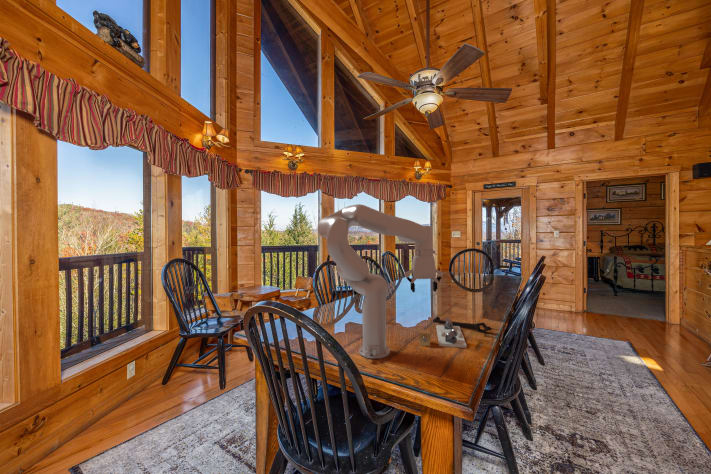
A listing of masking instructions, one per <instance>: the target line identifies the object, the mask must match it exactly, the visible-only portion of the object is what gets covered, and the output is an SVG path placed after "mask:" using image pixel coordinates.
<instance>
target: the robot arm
mask: <svg viewBox="0 0 711 474" xmlns="http://www.w3.org/2000/svg"><path fill="white" fill-rule="evenodd" d="M351 227H360V228H362V229H365V230H368V231H371V232H373V233H377V234H380V235H384V236H393V237H397V239H398V240H399V242H401V243H408V244H409V243H410V244H412V243H413V244H414V255H413V256H412V262H411V269H410V270H408V271H406V272H404V274H403V275H404V277H405V278H406V280H407V281H409V283H410V291H411V292H412V293H415V292H416V288H415V287H416V284H415V282H416V280H432V291H433V292H437V291H438V283H439V282H440V281H441V279H442V278H443V276H444V272H443V271H440V270H438V269H437V268H436V261H435V257H434V256H435V254H436V250H433V228H432V226H431V225H422V224H420V223H418V222H415V221H412V220H409V219H406V218H402V217H398V216H395V215H392V214H387V213H384V212H383V211H379V210H377V209H374V208H372V207H370V206H367V205H364V204H351V205H348V206H345V207H343V208H341V209H339V210H337V211H335V212H334V213H331V214H329V215H327V216H325V217H323V218H322V219H320V220H319V222H318V224H317V229H316V230H317V233H318V235H320V237H322V239H323V238H324V239H326V249H327V254H328V255H329V257H330V258H331V260H332V261H333V262H334V263H335V264H336V266H335V267H336V269H335V270H336V273H337V274H338V276H339V277H340V278H341V279H342V280H343V281H344V282H345V283H346V284H347V285H348V286H349V287H350V288H351V289H352V290H353V291H355V292H356V293H357V294H360V295H362V296H364V299H363V303H362V308H361V313H362V315H361V316H362V317H361V318H362V322H361V323H362V346H360V347H359V349H358V352H359V353H358V354H359V355H360V356H361V357H363V358H367V359H372V360H376V359H377V360H378V359H384V358H386V357H389V355H391V349H390V348H389V346H387V298H388V292H389V285H388V282H387V280H386V279H385V278H384V277H383V276H381V275H379V274H374V273H370V268H369V265H368V264H367V262H366V261H365V259H363V258H362V257H361V256H360V254H359V253H357V252H356V251H355V250H354V248H353V247H352V246H351V245H350V243H349V231H350V230H349V228H351ZM410 274H411V278H410V276H409V275H410ZM437 274H438V275H437Z"/></svg>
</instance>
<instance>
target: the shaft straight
mask: <svg viewBox="0 0 711 474" xmlns="http://www.w3.org/2000/svg"><path fill="white" fill-rule="evenodd" d="M444 321H446V323H444V324H443V326H444V329H453V324H452V322H453V321H452V322H451V319H450V318H449V317H446V318H445V320H444Z"/></svg>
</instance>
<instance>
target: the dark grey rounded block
mask: <svg viewBox="0 0 711 474" xmlns="http://www.w3.org/2000/svg"><path fill="white" fill-rule="evenodd" d="M457 335H458V332H457V331H456V330H455V329H452V330H451V331H450V332H449V333H448V334H446V337H445V342H449V343H452V344H455V343H456V342H457V338H456V336H457Z"/></svg>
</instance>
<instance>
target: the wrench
mask: <svg viewBox="0 0 711 474" xmlns="http://www.w3.org/2000/svg"><path fill="white" fill-rule="evenodd" d="M450 321H451V320H450ZM432 322H433V323H437V324H440V325H444V323H446V321H445V320H442V319H441V318H440V317H439V316H436V317H435V318H433V320H432ZM451 322H452V324H453V326H459V327H460V328H462V329H463V328H464V329H469V330H475V331H477V332H479V333H481V334H485V333H486V332H487V331H491V330H492V327H491V326H487V324H486V323H485V322H482V321H481V322H477V323H469V322H461V321H460V322H459V321H451ZM481 327H483V329H482V328H481Z"/></svg>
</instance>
